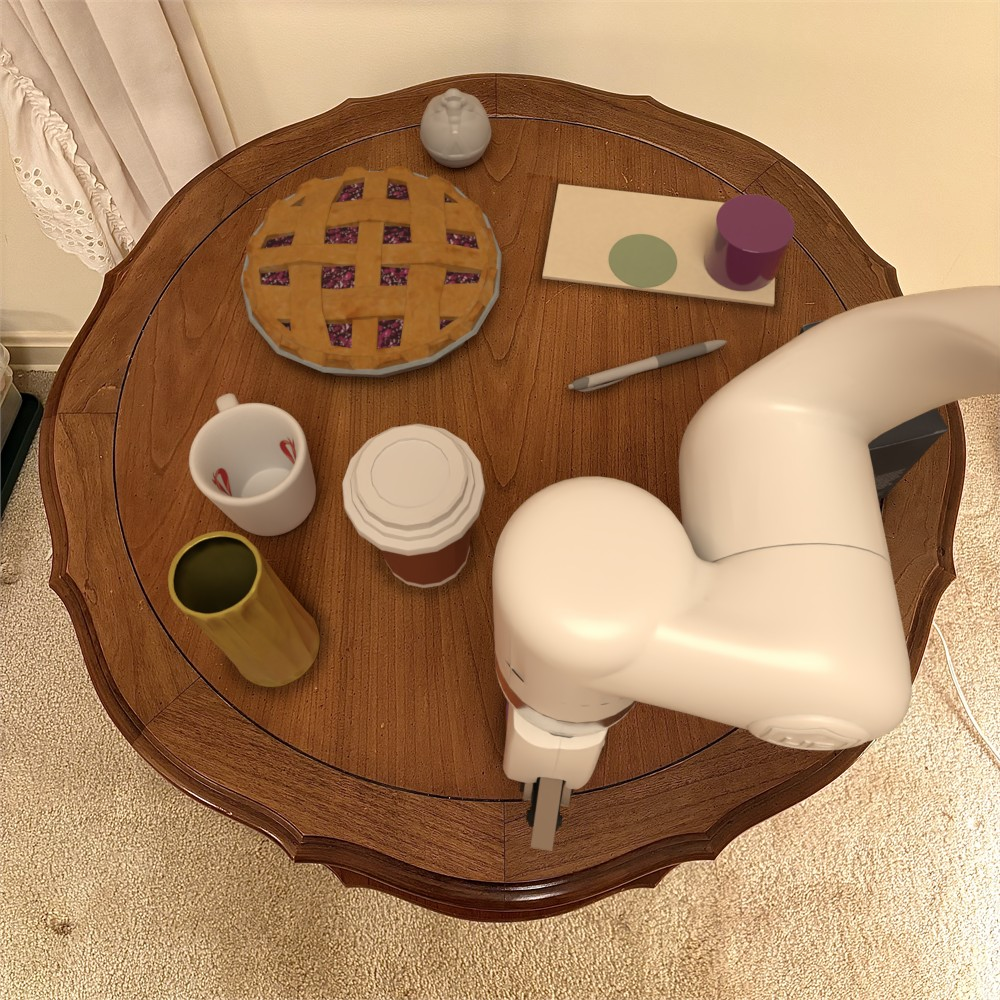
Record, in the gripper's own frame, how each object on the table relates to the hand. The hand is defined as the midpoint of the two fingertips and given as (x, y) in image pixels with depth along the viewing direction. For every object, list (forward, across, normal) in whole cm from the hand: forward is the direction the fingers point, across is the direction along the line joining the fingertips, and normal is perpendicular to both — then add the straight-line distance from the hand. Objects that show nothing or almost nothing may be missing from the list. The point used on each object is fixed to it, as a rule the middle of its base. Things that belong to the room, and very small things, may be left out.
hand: (553, 722), depth 56 cm
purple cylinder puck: (+1, -42, +11) cm, 43 cm away
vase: (+1, -2, -20) cm, 20 cm away
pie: (+1, -34, -20) cm, 40 cm away
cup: (+1, -14, -24) cm, 28 cm away
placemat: (+1, -44, +4) cm, 44 cm away
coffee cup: (+1, -12, -11) cm, 16 cm away
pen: (+1, -30, +4) cm, 30 cm away
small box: (+1, -24, +18) cm, 30 cm away
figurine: (+1, -52, -16) cm, 54 cm away
